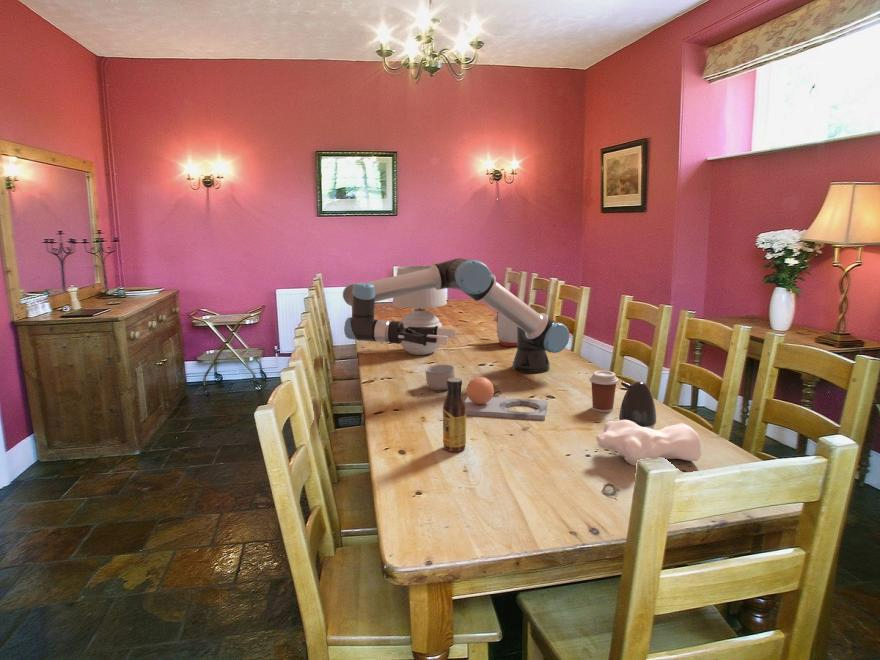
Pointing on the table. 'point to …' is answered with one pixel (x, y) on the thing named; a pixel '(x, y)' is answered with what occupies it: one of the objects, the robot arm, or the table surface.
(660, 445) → the torso sculpture
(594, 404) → the coffee cup
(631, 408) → the black egg shaped figurine
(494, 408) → the board
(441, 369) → the teacup
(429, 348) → the table lamp
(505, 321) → the citrus juicer
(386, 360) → the table surface
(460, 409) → the sauce bottle
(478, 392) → the ball
